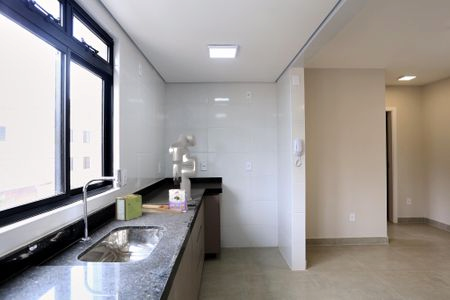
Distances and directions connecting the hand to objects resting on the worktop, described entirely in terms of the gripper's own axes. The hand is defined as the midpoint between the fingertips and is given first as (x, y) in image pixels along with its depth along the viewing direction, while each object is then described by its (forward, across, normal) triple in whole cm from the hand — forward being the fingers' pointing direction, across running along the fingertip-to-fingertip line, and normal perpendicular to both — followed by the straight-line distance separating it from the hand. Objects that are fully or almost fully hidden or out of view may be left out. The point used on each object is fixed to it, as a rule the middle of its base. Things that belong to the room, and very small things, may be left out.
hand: (177, 183), depth 207 cm
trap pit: (+22, +1, -12) cm, 25 cm away
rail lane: (+22, +1, -14) cm, 26 cm away
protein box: (+22, +24, -30) cm, 44 cm away
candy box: (+22, +1, 0) cm, 22 cm away
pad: (+22, +1, 0) cm, 22 cm away
